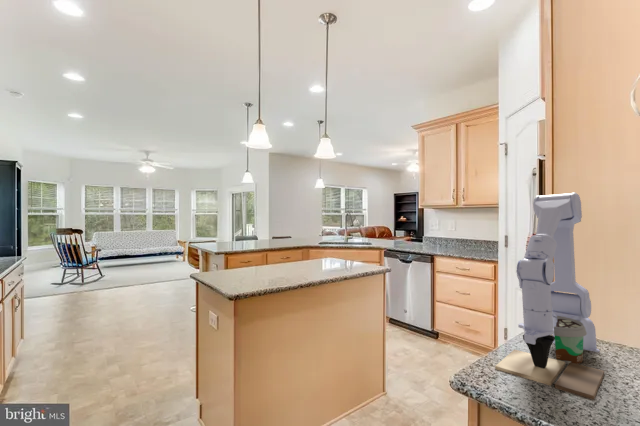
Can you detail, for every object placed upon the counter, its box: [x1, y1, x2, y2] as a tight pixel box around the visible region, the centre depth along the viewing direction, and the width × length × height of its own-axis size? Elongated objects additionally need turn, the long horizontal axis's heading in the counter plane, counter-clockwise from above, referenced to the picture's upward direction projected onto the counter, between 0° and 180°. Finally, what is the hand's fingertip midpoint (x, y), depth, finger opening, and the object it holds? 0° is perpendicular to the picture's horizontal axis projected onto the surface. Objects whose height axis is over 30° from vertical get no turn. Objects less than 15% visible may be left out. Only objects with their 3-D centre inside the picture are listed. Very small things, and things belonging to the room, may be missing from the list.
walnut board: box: [554, 362, 605, 401], centre depth 68 cm, size 15×6×2 cm, turn 131°
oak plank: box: [494, 349, 566, 386], centre depth 75 cm, size 11×14×2 cm
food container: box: [554, 316, 587, 365], centre depth 79 cm, size 12×6×10 cm, turn 139°
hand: (540, 366), depth 73 cm, fingers closed
